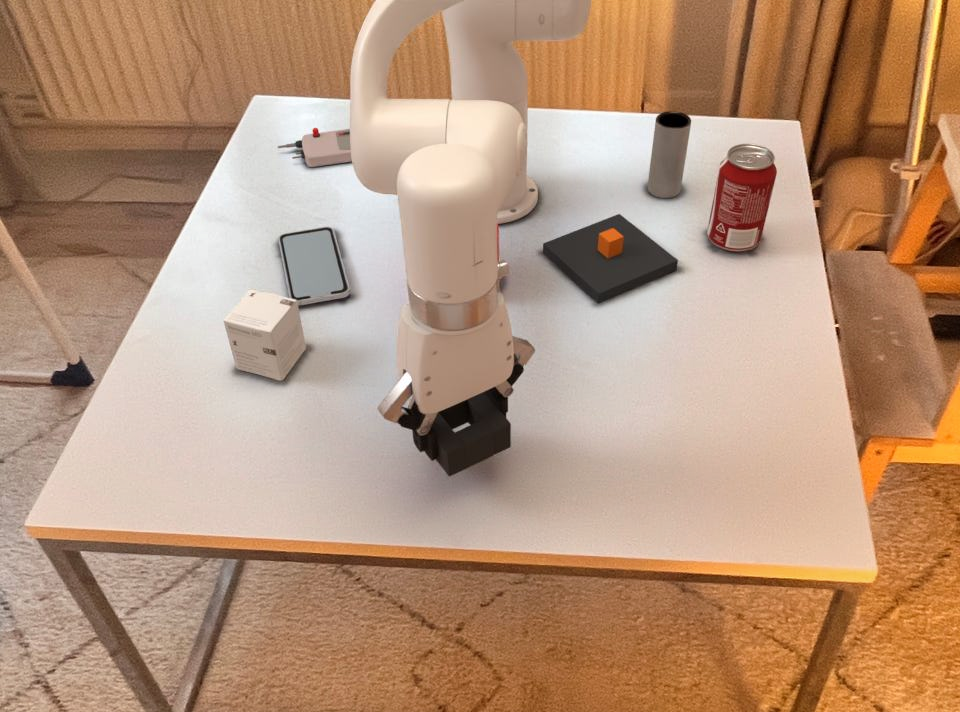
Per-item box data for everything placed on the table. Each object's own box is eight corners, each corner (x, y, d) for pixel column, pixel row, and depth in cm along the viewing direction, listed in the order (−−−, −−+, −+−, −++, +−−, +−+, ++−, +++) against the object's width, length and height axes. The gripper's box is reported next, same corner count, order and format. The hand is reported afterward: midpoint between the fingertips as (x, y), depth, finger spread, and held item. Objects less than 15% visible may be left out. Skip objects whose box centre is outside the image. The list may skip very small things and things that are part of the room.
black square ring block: (414, 431, 92) (411, 406, 90) (474, 403, 94) (473, 379, 92) (449, 477, 88) (447, 453, 86) (511, 447, 90) (511, 423, 88)
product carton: (235, 370, 105) (220, 320, 99) (262, 336, 108) (249, 286, 103) (283, 382, 103) (270, 332, 98) (308, 348, 107) (297, 297, 101)
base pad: (542, 253, 118) (543, 226, 115) (618, 223, 122) (621, 196, 119) (598, 303, 111) (600, 276, 108) (676, 270, 115) (681, 243, 112)
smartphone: (333, 225, 122) (351, 292, 112) (334, 231, 123) (352, 298, 112) (276, 234, 121) (290, 302, 111) (278, 240, 121) (291, 309, 111)
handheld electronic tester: (390, 156, 134) (388, 138, 132) (281, 172, 132) (278, 153, 130) (383, 134, 139) (381, 115, 137) (278, 148, 137) (274, 129, 135)
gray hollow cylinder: (687, 191, 127) (698, 121, 119) (662, 202, 125) (672, 132, 117) (665, 176, 129) (674, 107, 121) (640, 187, 127) (648, 117, 120)
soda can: (759, 258, 116) (780, 173, 107) (705, 252, 117) (721, 168, 108) (759, 227, 121) (779, 143, 112) (707, 222, 122) (722, 138, 113)
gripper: (516, 235, 82) (515, 378, 96) (339, 305, 77) (365, 446, 90) (564, 280, 78) (556, 423, 91) (381, 357, 72) (401, 497, 86)
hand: (461, 433), depth 91 cm, fingers closed on black square ring block, 7 cm apart
